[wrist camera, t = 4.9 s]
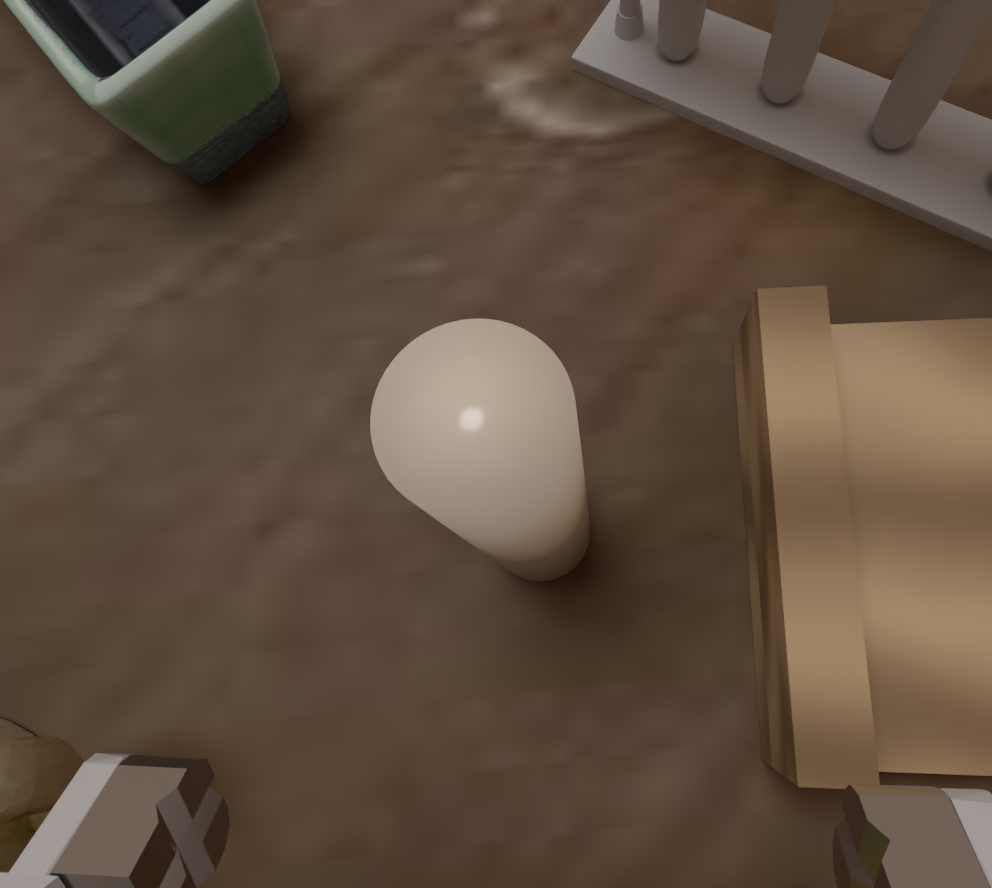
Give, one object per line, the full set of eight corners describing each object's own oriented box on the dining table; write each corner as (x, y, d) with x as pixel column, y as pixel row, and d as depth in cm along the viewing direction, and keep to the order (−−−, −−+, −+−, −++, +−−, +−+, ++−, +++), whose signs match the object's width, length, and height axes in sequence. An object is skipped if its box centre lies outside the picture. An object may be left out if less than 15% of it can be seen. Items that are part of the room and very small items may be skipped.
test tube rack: (571, 71, 31) (548, -321, 18) (625, -8, 32) (640, -440, 19) (1211, 350, 25) (1849, 46, 12) (1264, 245, 25) (1925, -149, 13)
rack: (1150, 773, 22) (1285, 807, 18) (762, 759, 23) (797, 787, 19) (1065, 332, 25) (1159, 269, 21) (732, 345, 27) (757, 288, 23)
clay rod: (558, 601, 25) (507, 558, 12) (470, 548, 26) (331, 454, 13) (609, 510, 26) (614, 374, 13) (521, 462, 27) (438, 286, 13)
